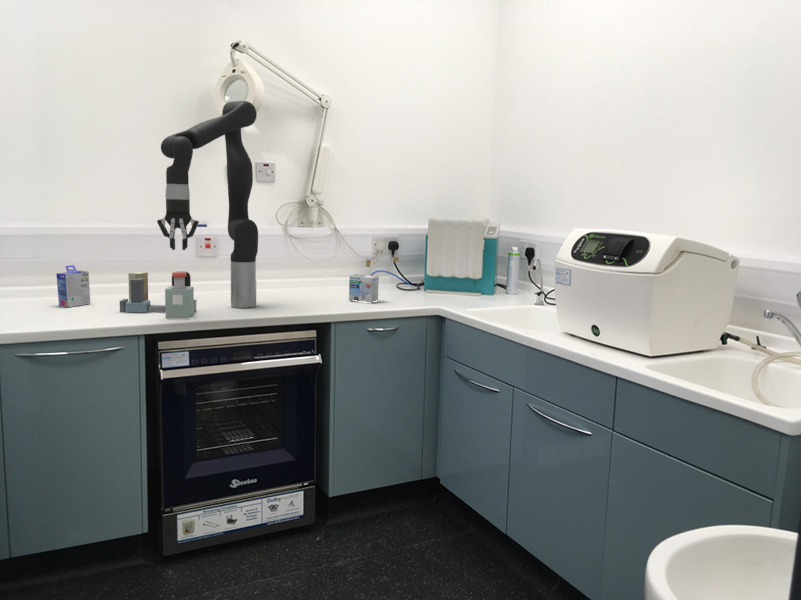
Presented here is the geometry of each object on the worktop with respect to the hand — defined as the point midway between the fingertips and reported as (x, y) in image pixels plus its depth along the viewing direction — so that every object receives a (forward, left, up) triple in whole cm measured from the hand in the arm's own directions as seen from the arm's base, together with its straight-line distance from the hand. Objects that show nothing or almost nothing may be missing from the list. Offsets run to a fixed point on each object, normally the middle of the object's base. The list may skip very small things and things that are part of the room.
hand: (178, 249), depth 218 cm
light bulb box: (-66, -37, -23) cm, 79 cm away
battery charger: (+6, -34, -23) cm, 42 cm away
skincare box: (+19, -22, -23) cm, 37 cm away
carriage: (+16, -9, -23) cm, 30 cm away
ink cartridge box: (+41, -20, -23) cm, 51 cm away
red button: (0, 0, -18) cm, 18 cm away
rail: (+9, -9, -23) cm, 26 cm away
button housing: (0, 0, -23) cm, 23 cm away
